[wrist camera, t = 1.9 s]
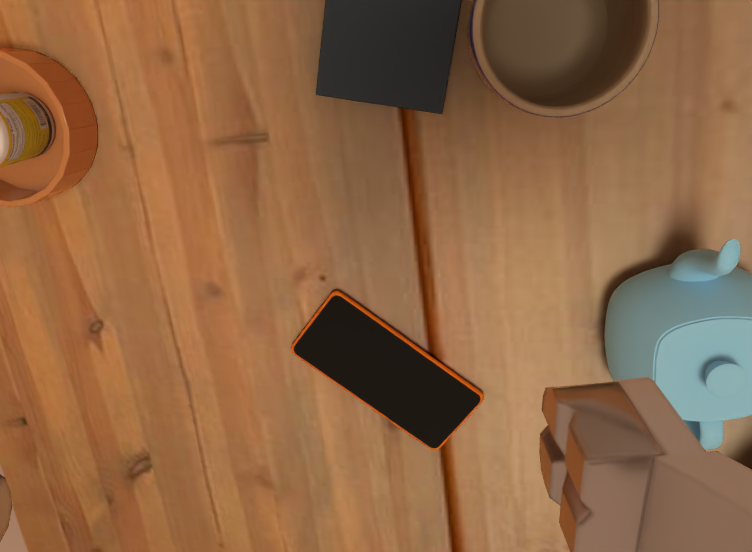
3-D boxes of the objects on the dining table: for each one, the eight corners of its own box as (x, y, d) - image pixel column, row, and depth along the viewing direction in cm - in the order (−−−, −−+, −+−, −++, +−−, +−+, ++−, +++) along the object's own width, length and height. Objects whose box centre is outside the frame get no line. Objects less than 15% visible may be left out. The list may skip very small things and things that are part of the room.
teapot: (839, 232, 41) (816, 475, 47) (761, 197, 51) (749, 400, 57) (632, 250, 43) (633, 483, 48) (595, 213, 53) (599, 409, 58)
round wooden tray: (-45, 39, 53) (-87, 37, 49) (98, 60, 53) (67, 61, 48) (-35, 183, 57) (-73, 194, 53) (98, 205, 57) (70, 217, 52)
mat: (332, -44, 49) (330, -46, 48) (465, -25, 48) (465, -26, 47) (317, 94, 52) (315, 94, 51) (442, 113, 51) (442, 114, 51)
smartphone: (335, 286, 57) (334, 289, 56) (486, 393, 59) (487, 397, 58) (288, 348, 59) (286, 352, 58) (435, 449, 61) (434, 454, 60)
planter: (473, 116, 51) (481, 132, 41) (455, -35, 48) (459, -60, 37) (617, 92, 50) (664, 103, 39) (608, -65, 46) (657, -100, 36)
